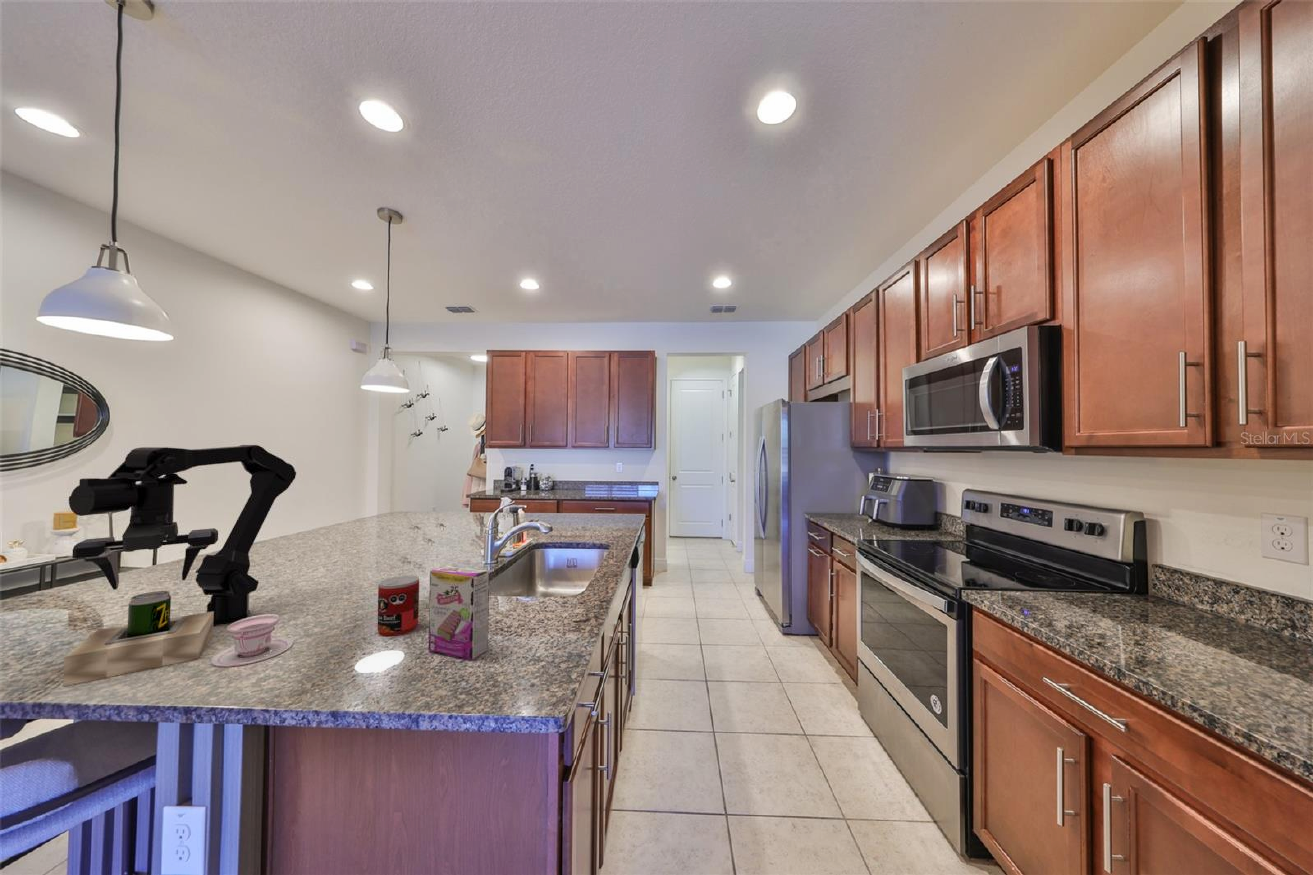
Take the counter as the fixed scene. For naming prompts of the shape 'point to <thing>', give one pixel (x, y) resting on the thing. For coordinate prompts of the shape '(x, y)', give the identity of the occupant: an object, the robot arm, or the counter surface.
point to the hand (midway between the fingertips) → (150, 584)
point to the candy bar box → (459, 611)
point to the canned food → (398, 605)
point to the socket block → (137, 649)
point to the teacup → (252, 641)
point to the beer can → (149, 613)
